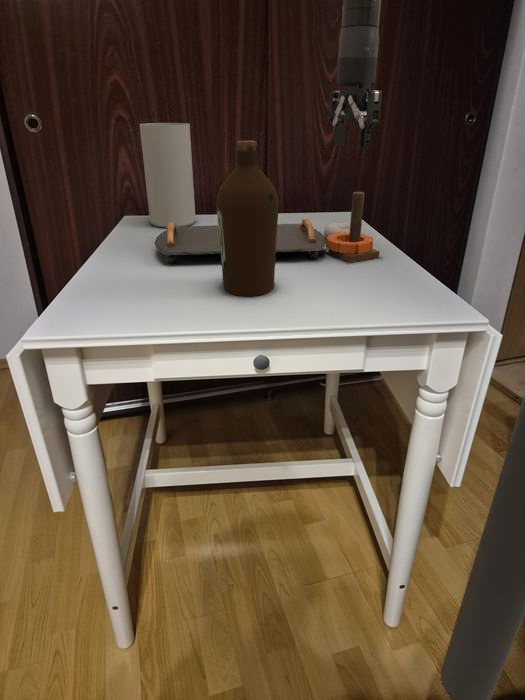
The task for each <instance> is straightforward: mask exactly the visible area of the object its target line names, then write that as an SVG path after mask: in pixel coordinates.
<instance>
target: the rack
mask: <svg viewBox="0 0 525 700" xmlns="http://www.w3.org/2000/svg"><path fill="white" fill-rule="evenodd" d="M364 202H365V192H364V191H353V192H352V199H351V209H350V222H349V223H350V233H349V242H359V241H360V235H361V227H362V225H363V213H364ZM380 252H381V251H379V250H378V249H375V248H372V251H370V252H365V253H359V254H358V253H355V254H350V253H339V252H335V251H332V250H330V249H328V250H327V253H328V255H331V256H333V257H335V258H337V259H340V260H342V261H343V262H346V263H348V264H351V263H357V262H362V261H363V262H364V261H369V260H374V259H379V258H380Z"/></svg>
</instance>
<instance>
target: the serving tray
mask: <svg viewBox="0 0 525 700" xmlns="http://www.w3.org/2000/svg"><path fill="white" fill-rule="evenodd" d="M326 241H327V240H326V238H325V236H324V233H322V232H321V231H319V230H317V229H316V228H315V227H314V225H313V222H312V221H311V220H310V219H308V218H303V219H302V220H301V223H277V238H276V253H292V252H293V253H294V252H295V253H297V252H308V256H309V258H310V260H313V261H314V260H316V261H317V259H318V258H319V256H320V251H322V250H323V249H324V248H325V246H326ZM153 243H154V246H155V248H156V250H158V251H159V252H160V253H161V254H162V255H165V262H167V264H169V265H172V264H175V262H176V256H183V255H185V256H187V255H190V256H192V255H217V254H218V255H219V254H220V255H221V250H220V238H219V228H218V225H215V224H214V225H188V226H178V227H176V223H175V222H170V223H169V224H168V228H166V230H164V231H161V232H160V233H159V234H158V235H157V236H156V238H155V241H154V242H153Z"/></svg>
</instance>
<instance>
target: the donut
mask: <svg viewBox="0 0 525 700" xmlns="http://www.w3.org/2000/svg"><path fill="white" fill-rule="evenodd" d="M345 232H347V233H350V222H333V223H330V224H327V225H326V226H325V227H324V229H323V236H324V237H325V240H327V237H328V235H331V234H336V233H345ZM361 234H365V229H364V228H363V227H362V226H361ZM365 235H366V234H365Z"/></svg>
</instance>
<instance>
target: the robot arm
mask: <svg viewBox="0 0 525 700" xmlns="http://www.w3.org/2000/svg"><path fill="white" fill-rule="evenodd" d="M381 9H382V0H342V6H341V22H340V32H339V33H340V34H339V39H338V49H337V66H336V78H335V79H336V84H337V85H340V89H339V90H331V91H330V93H329V100H328V101H329V102H328V103H329V104H328V115H327V122H328V124H329V123H330V124H332V126H333V146H334V147H343V146H344V145H345V135H346V123H347V121H348V120H349V118H351V117H352V116H354V118H355V119H356V120H357V122H358V124H359V131H358V143H357V148H358V150H369V148H370V145H371V137H372V129H373V128H374V127H375V126H379V125H380V124H381V115H382V114H381V113H382V99H383V97H382V96H383V92H382V90H381V89H378V90H377V89H371V85H374V84H375V83H376V76H377V65H378V56H379V53H378V52H379V42H380V39H379V38H380V37H379V36H380V35H379V30H380V28H379V27H380V20H381V19H380V18H381ZM373 112H374V113H373ZM373 114H374V118H373Z"/></svg>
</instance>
